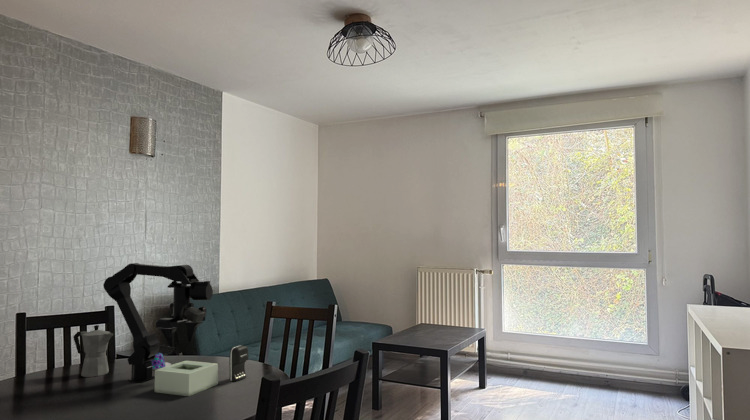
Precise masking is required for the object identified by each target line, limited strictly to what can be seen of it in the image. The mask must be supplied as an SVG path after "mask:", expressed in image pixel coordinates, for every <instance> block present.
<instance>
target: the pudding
mask: <svg viewBox="0 0 750 420" xmlns="http://www.w3.org/2000/svg"><path fill="white" fill-rule="evenodd" d="M150 361H152V371H153V370H154V371H155V370H157V369H160V368H164V367H167V366H170V365H172V363H170V362H167V361H165V358H164V354H163V353H161V352H158V353H157V354H156V355H155V358H154V359H153V360H150Z"/></svg>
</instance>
